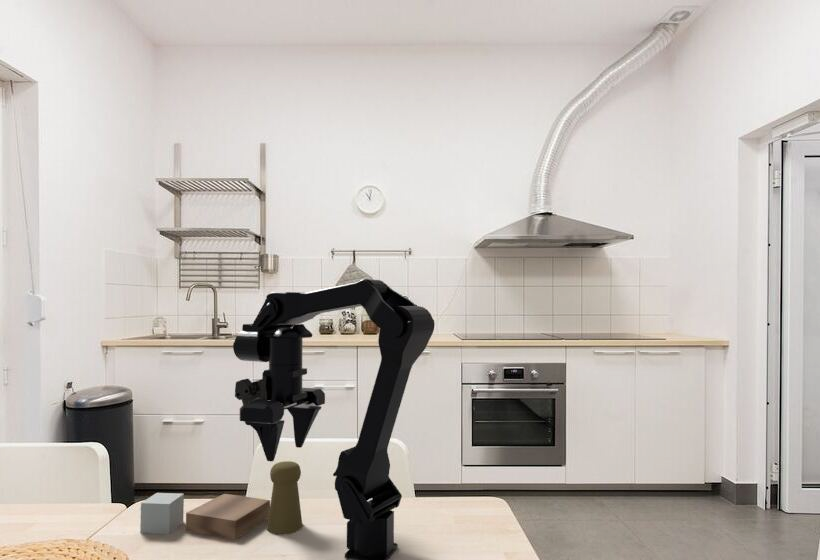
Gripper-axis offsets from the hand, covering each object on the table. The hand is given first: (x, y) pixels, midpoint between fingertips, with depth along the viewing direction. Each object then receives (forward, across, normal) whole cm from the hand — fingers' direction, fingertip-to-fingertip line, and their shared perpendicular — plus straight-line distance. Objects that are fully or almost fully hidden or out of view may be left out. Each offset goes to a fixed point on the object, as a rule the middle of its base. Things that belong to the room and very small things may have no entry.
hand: (285, 453), depth 95 cm
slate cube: (+12, +7, -20) cm, 25 cm away
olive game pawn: (+13, 0, 0) cm, 13 cm away
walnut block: (+12, +2, -10) cm, 16 cm away
